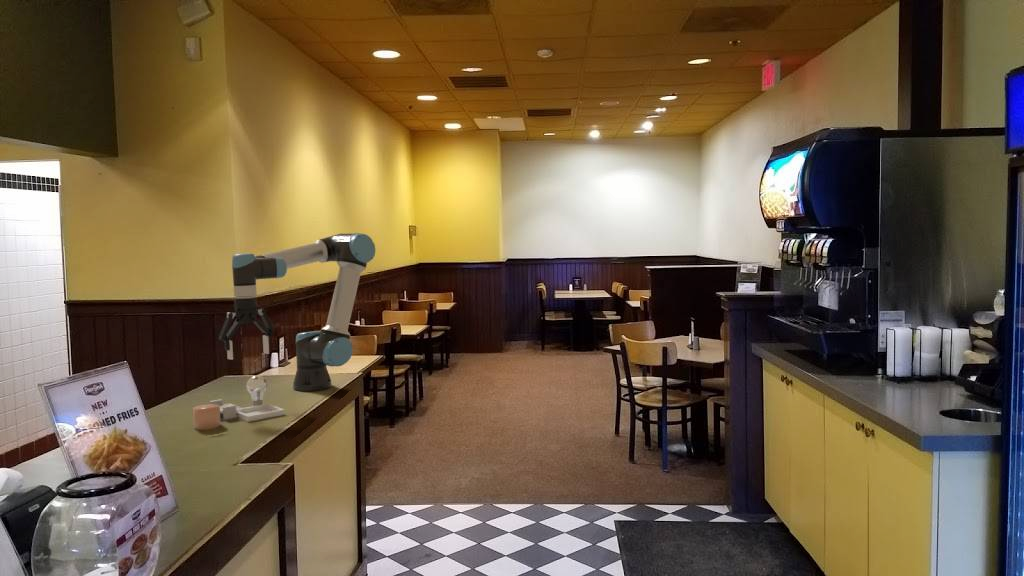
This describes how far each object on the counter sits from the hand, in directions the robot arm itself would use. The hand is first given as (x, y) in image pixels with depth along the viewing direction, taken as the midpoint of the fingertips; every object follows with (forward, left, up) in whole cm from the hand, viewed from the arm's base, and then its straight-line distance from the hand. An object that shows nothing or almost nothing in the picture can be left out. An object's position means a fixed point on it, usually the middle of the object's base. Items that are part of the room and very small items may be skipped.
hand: (248, 356), depth 253 cm
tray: (+3, +13, -19) cm, 23 cm away
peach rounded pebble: (+21, +15, -19) cm, 32 cm away
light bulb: (-2, +1, -19) cm, 20 cm away
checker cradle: (+12, +5, -19) cm, 23 cm away
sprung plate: (+12, +5, -17) cm, 21 cm away
